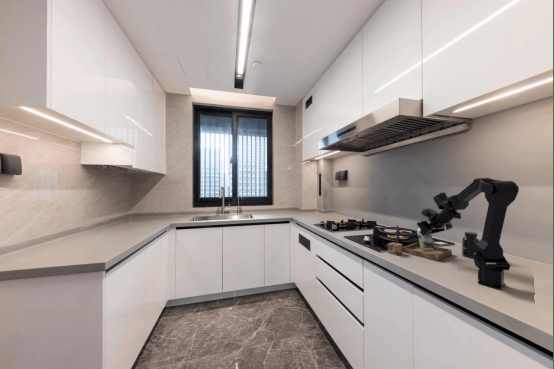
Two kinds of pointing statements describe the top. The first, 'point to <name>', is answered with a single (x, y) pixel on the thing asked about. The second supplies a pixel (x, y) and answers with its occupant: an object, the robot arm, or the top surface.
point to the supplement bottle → (468, 244)
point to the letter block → (395, 248)
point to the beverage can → (425, 241)
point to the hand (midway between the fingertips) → (424, 234)
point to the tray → (427, 252)
